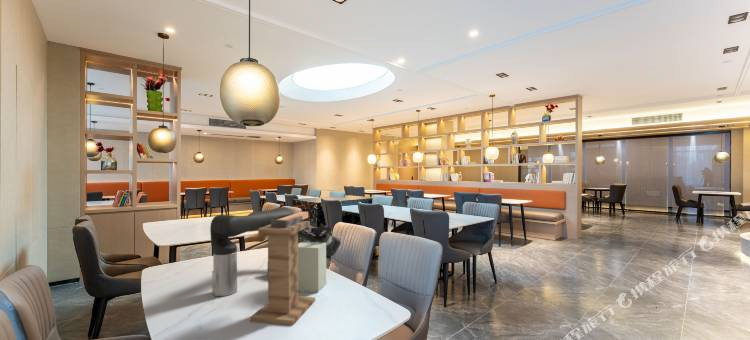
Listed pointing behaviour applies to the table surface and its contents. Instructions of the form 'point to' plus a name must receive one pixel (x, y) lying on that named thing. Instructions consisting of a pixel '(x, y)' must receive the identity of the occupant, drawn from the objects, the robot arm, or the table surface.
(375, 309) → the table surface
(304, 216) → the block
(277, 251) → the stand
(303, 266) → the pedestal
